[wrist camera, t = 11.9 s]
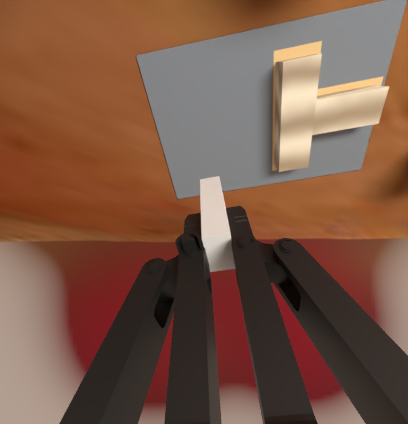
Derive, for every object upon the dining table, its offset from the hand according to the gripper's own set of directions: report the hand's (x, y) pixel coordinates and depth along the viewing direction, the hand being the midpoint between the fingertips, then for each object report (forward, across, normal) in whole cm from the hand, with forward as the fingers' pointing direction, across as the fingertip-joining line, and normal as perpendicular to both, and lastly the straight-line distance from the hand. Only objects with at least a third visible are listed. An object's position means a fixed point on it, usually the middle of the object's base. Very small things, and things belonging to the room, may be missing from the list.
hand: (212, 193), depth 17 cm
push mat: (+23, +10, -2) cm, 25 cm away
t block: (+22, +19, -2) cm, 30 cm away
